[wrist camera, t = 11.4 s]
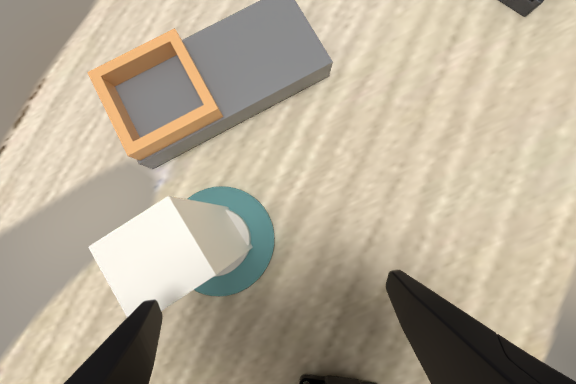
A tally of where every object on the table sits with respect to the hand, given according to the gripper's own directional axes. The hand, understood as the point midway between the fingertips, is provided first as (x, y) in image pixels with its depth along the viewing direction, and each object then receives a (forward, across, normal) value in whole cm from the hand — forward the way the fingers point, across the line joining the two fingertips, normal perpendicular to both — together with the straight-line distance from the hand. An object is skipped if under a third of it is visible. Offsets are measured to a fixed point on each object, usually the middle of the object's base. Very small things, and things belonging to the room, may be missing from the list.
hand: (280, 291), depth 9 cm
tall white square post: (+10, +4, +5) cm, 12 cm away
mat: (+11, +4, +6) cm, 13 cm away
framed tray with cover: (+19, +3, -6) cm, 20 cm away
